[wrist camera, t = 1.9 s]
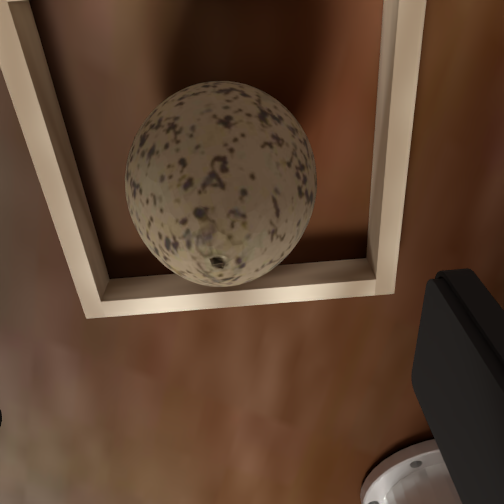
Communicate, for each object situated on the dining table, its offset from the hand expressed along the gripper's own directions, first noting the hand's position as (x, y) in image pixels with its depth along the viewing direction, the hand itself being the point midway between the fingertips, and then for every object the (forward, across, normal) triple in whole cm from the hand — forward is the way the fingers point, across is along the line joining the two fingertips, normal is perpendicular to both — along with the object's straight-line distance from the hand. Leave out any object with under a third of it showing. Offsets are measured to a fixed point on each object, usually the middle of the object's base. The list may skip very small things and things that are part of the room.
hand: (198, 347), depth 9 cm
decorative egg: (+14, 0, +1) cm, 14 cm away
